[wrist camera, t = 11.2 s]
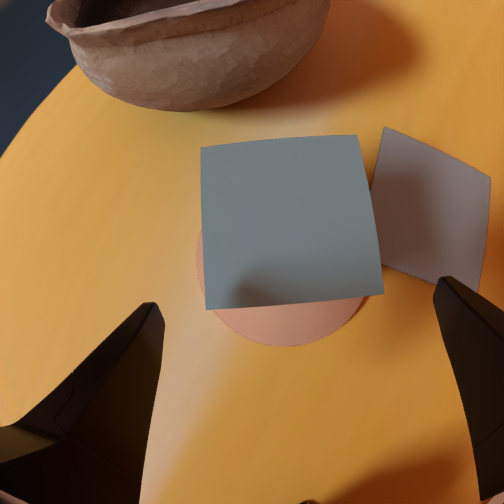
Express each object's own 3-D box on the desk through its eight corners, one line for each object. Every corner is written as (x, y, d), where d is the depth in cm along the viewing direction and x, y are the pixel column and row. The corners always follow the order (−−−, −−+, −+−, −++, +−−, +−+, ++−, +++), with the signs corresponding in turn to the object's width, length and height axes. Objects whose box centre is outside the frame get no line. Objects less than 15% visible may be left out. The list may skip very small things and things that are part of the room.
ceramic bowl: (96, 72, 29) (36, -7, 14) (243, -7, 29) (228, -95, 15) (174, 201, 24) (68, 92, 10) (368, 82, 25) (404, -41, 10)
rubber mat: (473, 299, 21) (475, 299, 20) (352, 253, 22) (353, 252, 22) (488, 178, 22) (490, 177, 22) (383, 129, 24) (384, 126, 24)
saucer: (280, 379, 21) (279, 396, 17) (167, 254, 24) (143, 243, 19) (400, 259, 22) (424, 249, 18) (285, 147, 24) (286, 117, 20)
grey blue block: (338, 299, 21) (384, 294, 11) (239, 308, 22) (205, 309, 12) (327, 204, 22) (356, 134, 12) (233, 212, 23) (200, 147, 13)
